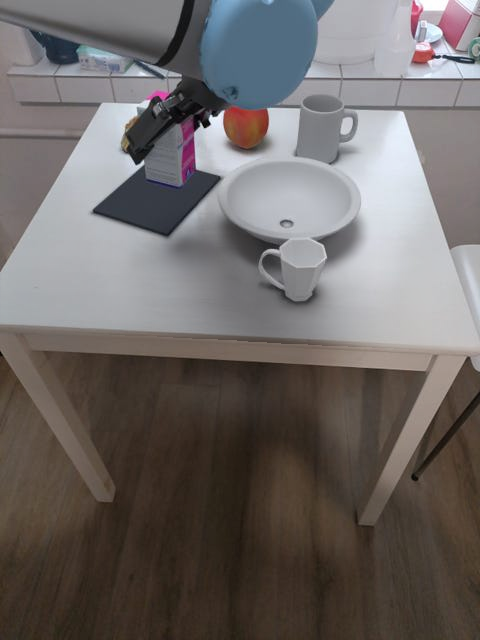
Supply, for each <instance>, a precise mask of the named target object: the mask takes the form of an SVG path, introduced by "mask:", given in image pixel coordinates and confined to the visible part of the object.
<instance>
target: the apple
mask: <svg viewBox="0 0 480 640" xmlns="http://www.w3.org/2000/svg"><path fill="white" fill-rule="evenodd" d="M222 126H223V130H224V133H225V135H226V137H227V138H228V140H229V141H230V142H232V143H233V144H235V146H238V147H240V148H242V149H245V150H246V149H247V150H249V149H252V148H254V147H256V146H257V145H258V144H260V142H261V141H262V140H264V138H265V137H266V135H267V133H268V130H269V126H270V115H269V110H268V108H267V109H263V110H255V111H253V110H245V109H241V108H238V107H235V106H233V107H231V108H229V109H227V110H224V111H223V116H222Z"/></svg>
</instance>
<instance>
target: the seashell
mask: <svg viewBox="0 0 480 640" xmlns="http://www.w3.org/2000/svg"><path fill="white" fill-rule="evenodd" d="M137 119H138V115H135V116H133V118H130V119H129V121H128V123H126V124H125V125H124V133H123V134H122V137H121V140H120V146H121V148H122V151H124V152H125V153H128V151H127V149H126V148H127V147H128V145H129V144H130V143H129V141H128V140H127V138H126V136H125V133H126V132H127V131H128V130H129V129H130V127H131V126H132V125H133V124H134V123H135V121H136V120H137Z"/></svg>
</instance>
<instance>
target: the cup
mask: <svg viewBox="0 0 480 640" xmlns="http://www.w3.org/2000/svg"><path fill="white" fill-rule="evenodd" d="M267 255H272V256H275V257H278V258H280V266H281V274H282V281H283V284H282V283H280V282H279V281H278V280H276V279H275V278H274V277H273V276H271V275H270V274H269V273H267V271H266V270H265V269H264V267H263V259H264V257H266V256H267ZM327 260H328V256H327V252H326V248H325V245H324V244H322V243H321V242H319V241H315V240H313V239H311V238H290V239H289V240H288V241H287V242H285V243H284V244H283V245H279V249H276V248H268V249H266V250H265V251H263V252H262V254H261V256H260V259H259V260H258V266H257V267H258V271H259V272H260V274H261V275H262V276H263V278H265V279H266V280H267V281H268V282H270V283H271V284H272V285H273V286H274V287H277V288H278V289H280V290H281V291H282V290H283V291H284V293H285V297H286V298H288V299H290V300H291V301H293V302H306V301H307V300H308V299H310V297H312V296H313V291H314V289H315V288H316V286H317V284H318V282H319V280H320V278H321V275H322V272H323V269H324V267H325V264H326V262H327Z"/></svg>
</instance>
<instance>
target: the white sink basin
mask: <svg viewBox="0 0 480 640" xmlns="http://www.w3.org/2000/svg"><path fill="white" fill-rule="evenodd" d="M217 201H218V205H219V208H220V210H221V211H222V213H223V214H224V215H225V217H226V218H227V219H228V220H229V221H230V222H231V223H233V224H234V225H235V226H237V227H238V228H240V229H241V230H244V231H245V232H247V233H248V234H250V235H251V236H253V237H255V238H257V239H258V240H260V241H262V242H266V243H270V244H274V245H279V246H281V245H283V244H284V243H285V242H287V241H288V240H289V239H290V238H311V239H313V240H315V241H317V242H319V241H320V240H322V239H325V238H326V237H328V236H331V235H333V234H336V233H338V232H340V231H342V230H343V229H345V228H346V227H347V226H349V225H350V224H351V223H352V222H353V221H354V220H355V219H356V217H357V216H358V214H359V213H360V209H361V206H362V195H361V191H360V189H359V187H358V185H357V183H355V181H354V179H352V178H351V177H350V176H349V175H348V174H347V173H345V172H344V171H342V170H341V169H339V168H337V167H335V166H334V165H332V164H330V163H329V164H326V163H323V162H321V161H317V160H313V159H308V158H302V157H297V156H291V155H290V156H289V155H288V156H287V155H286V156H285V155H283V156H269V157H263V158H258V159H256V160H251V161H247V162H246V163H244V164H242V165H240V166H238V167H236V168H235V169H233V170H232V171H230V172H229V173H228V174H227V175H226V176H225V177H224V178H223V179H222V181H221V183H220V185H219V187H218V190H217ZM283 221H289V222H291V223H292V226H290V227H285V226H282V225H281V223H282V222H283Z"/></svg>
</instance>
